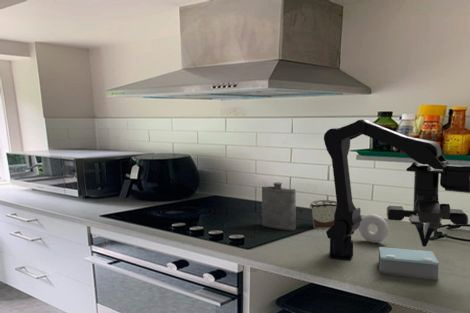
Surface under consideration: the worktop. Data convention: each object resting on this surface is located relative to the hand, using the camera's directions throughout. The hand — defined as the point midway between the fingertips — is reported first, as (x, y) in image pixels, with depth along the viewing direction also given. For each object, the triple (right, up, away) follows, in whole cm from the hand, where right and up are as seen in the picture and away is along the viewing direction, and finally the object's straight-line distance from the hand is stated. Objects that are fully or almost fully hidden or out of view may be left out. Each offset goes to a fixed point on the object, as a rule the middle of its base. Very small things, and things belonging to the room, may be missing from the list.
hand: (424, 246), depth 99 cm
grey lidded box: (-3, -8, +4) cm, 9 cm away
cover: (-3, -4, +3) cm, 6 cm away
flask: (-34, -4, +47) cm, 58 cm away
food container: (-15, -4, +48) cm, 51 cm away
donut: (-3, -6, +28) cm, 28 cm away
